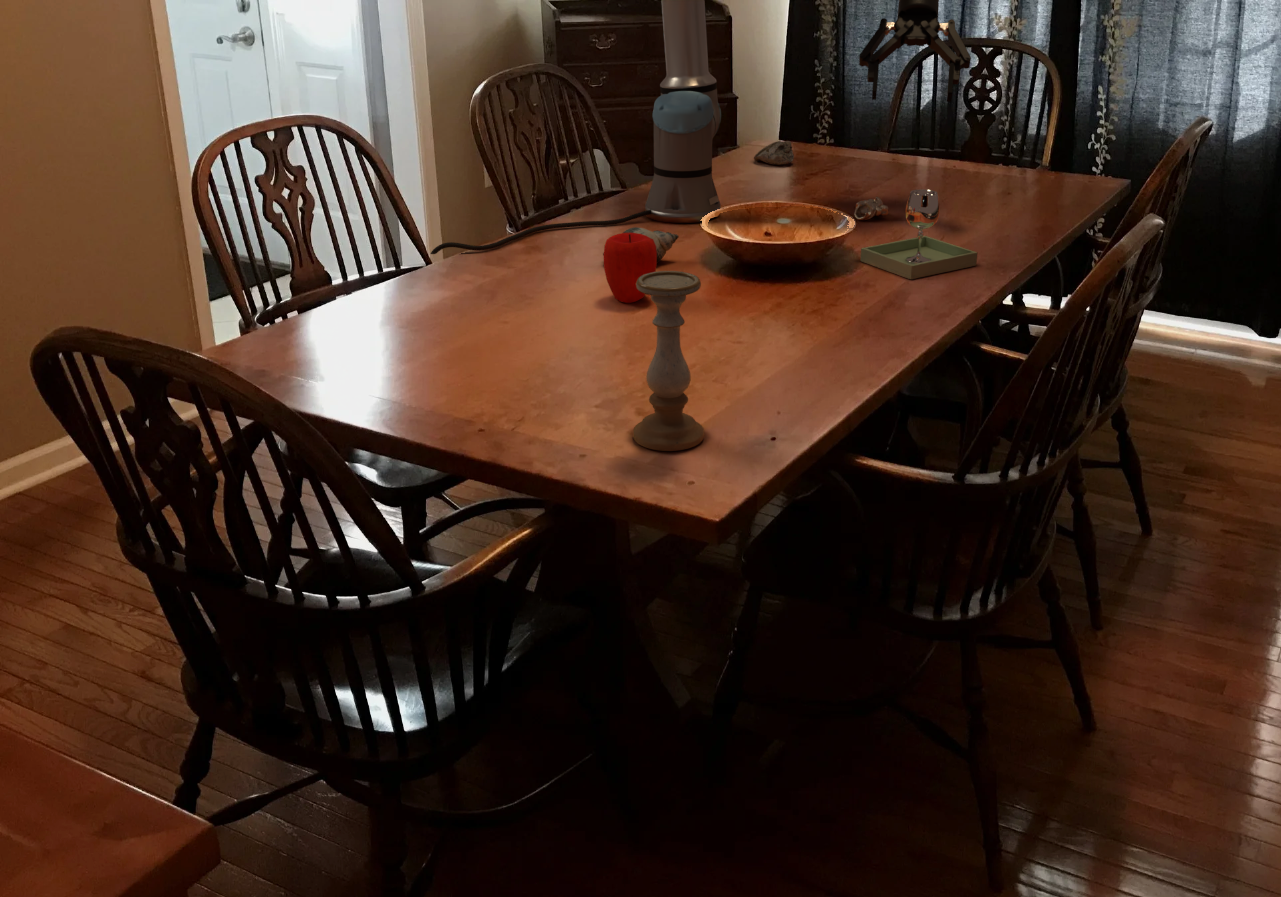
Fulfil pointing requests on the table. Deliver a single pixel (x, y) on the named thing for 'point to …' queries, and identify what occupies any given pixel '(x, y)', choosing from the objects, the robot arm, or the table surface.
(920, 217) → the wineglass
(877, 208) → the ornament
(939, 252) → the tray
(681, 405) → the candle holder
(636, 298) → the apple
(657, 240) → the seashell
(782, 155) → the grey rock
